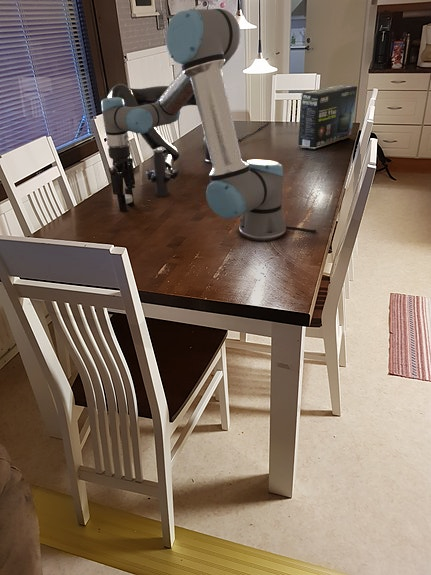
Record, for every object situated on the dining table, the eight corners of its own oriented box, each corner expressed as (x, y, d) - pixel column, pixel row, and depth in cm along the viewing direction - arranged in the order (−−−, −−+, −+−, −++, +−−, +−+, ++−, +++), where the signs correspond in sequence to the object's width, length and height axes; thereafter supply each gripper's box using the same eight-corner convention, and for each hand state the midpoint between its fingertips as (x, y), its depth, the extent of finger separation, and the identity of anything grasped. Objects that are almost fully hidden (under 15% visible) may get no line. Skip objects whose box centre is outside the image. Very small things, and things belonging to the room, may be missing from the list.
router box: (314, 151, 231) (318, 94, 217) (296, 148, 237) (299, 92, 224) (352, 138, 251) (358, 85, 238) (335, 135, 258) (340, 83, 245)
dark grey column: (166, 196, 182) (162, 152, 173) (155, 196, 183) (150, 152, 174) (169, 192, 186) (165, 149, 177) (158, 192, 187) (153, 149, 178)
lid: (117, 200, 172) (116, 196, 171) (129, 197, 174) (128, 193, 173) (122, 204, 168) (121, 199, 167) (135, 201, 171) (134, 196, 170)
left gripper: (146, 159, 191) (140, 171, 177) (180, 157, 191) (177, 169, 177) (148, 176, 195) (142, 190, 181) (181, 175, 195) (179, 188, 180)
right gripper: (114, 152, 152) (124, 218, 164) (139, 139, 167) (146, 200, 179) (95, 151, 154) (105, 215, 167) (121, 138, 169) (129, 198, 181)
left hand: (160, 180), depth 179 cm, fingers closed on dark grey column, 4 cm apart
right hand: (127, 207), depth 173 cm, fingers closed on lid, 5 cm apart
